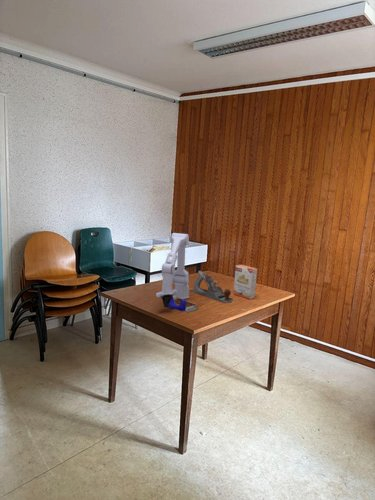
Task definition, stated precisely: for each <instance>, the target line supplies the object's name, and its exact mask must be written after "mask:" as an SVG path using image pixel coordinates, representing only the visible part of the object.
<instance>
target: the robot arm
mask: <svg viewBox="0 0 375 500" xmlns="http://www.w3.org/2000/svg"><path fill="white" fill-rule="evenodd" d="M189 236H190V235H189V234H188V233H178V232H173V233H171V235H170V237H171V238H170V241H171V249H170V252H169V253H167V256H166V259H165V262H164V263H162V266H161V275H162V284H161V291H159V292H156V294H155V297H156V298H161V300H162V303H163V307H164V308H168V306H169V303H170V300H171V299H172V297H173V299H175V298H176V297H178V298H181V299H184V300H186V299H189V298H190V285H189V281H190V274H189V271H187V270H186V269H185V268H186V267H185V266H186V265H185V264H186V246H189V242H190V241H189V239H190V238H189ZM176 263H177V264H176ZM176 265H177V266H176ZM173 285H174V289H173Z"/></svg>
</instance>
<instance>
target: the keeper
mask: <svg viewBox="0 0 375 500" xmlns="http://www.w3.org/2000/svg"><path fill="white" fill-rule="evenodd" d="M173 300H174V302H175V304H177V303H178V304H179V305H180V303H181V301H183V300H186V310H185V311H184V312H185V313H190V312H193V311H197V310H198V309H199V304H197V303H195V302H192V301H189V300H187V299H181V298H178V297H176V298H173Z"/></svg>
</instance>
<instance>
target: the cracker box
mask: <svg viewBox="0 0 375 500" xmlns="http://www.w3.org/2000/svg"><path fill="white" fill-rule="evenodd" d="M257 276H258V268H256V267H252V266H249V265H245V264H236V265H235V272H234V282H233V284H234V285H233V295H234V296H238V297H241V298H243V299H246V300H253V299H255V297H256V288H257V278H258V277H257Z"/></svg>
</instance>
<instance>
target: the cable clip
mask: <svg viewBox="0 0 375 500" xmlns="http://www.w3.org/2000/svg"><path fill="white" fill-rule="evenodd" d="M173 299H174V298H173V297H172V299H171V300H170V303H169V306H168V307H169V308H168V307H167V308H168V309H171V310H174V309H175V310H177V311H181V312H185V311H186V308H187V306H186V300H187V299H184V300H183V301H181V303H180V304H179V305H177V303H175V302H174V300H173Z"/></svg>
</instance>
